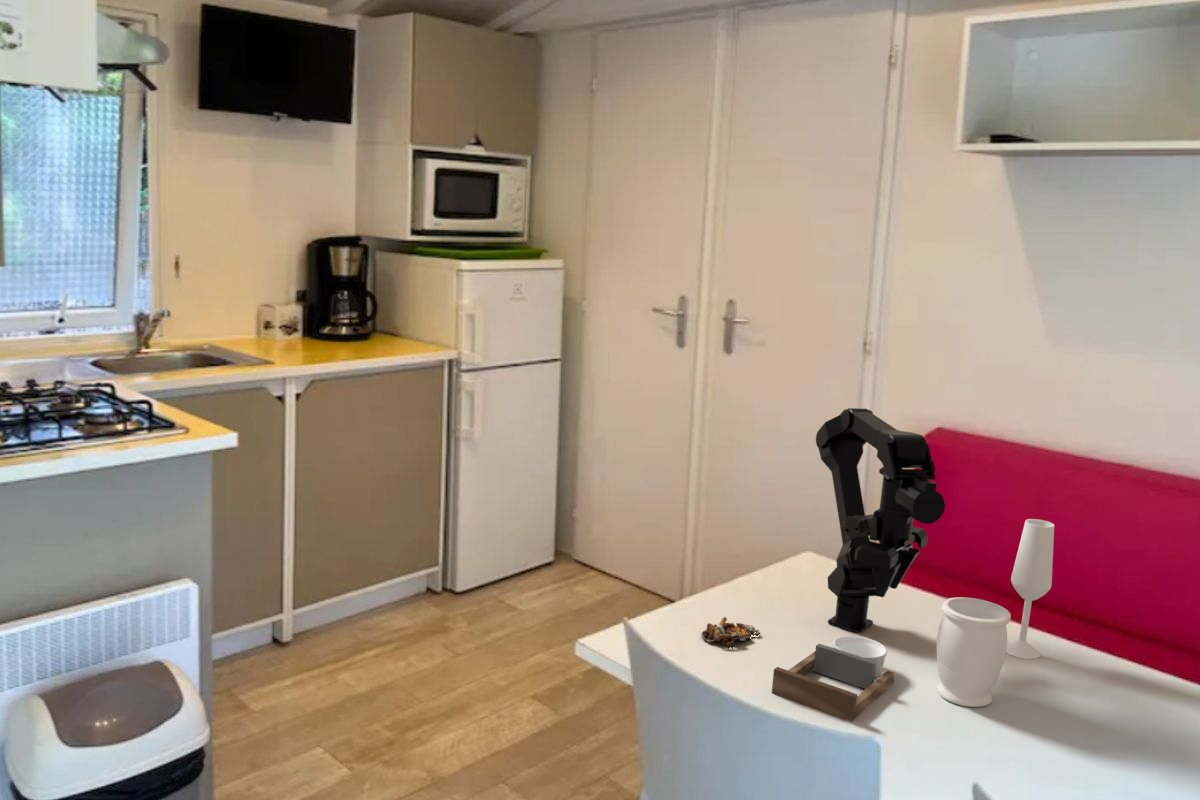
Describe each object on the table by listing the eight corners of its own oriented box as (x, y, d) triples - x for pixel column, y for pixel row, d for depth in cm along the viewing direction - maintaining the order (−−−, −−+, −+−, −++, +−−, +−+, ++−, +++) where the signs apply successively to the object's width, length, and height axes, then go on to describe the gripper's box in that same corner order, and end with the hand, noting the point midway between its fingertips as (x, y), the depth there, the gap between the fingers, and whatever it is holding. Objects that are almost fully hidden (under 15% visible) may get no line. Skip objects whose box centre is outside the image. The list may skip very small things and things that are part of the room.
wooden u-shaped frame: (818, 659, 179) (820, 637, 178) (893, 683, 171) (896, 661, 170) (771, 692, 165) (773, 669, 164) (851, 721, 157) (854, 696, 157)
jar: (964, 716, 161) (977, 625, 159) (916, 687, 170) (927, 600, 168) (1012, 705, 166) (1026, 616, 164) (963, 677, 175) (975, 593, 173)
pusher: (817, 668, 175) (819, 642, 174) (874, 687, 169) (877, 661, 168) (813, 671, 173) (816, 645, 173) (870, 690, 168) (873, 664, 167)
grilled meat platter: (766, 636, 188) (768, 618, 187) (726, 654, 180) (728, 634, 179) (735, 624, 193) (737, 606, 192) (695, 640, 184) (696, 621, 184)
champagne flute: (1021, 660, 184) (1040, 530, 179) (992, 645, 190) (1010, 518, 185) (1049, 656, 186) (1069, 527, 182) (1020, 641, 192) (1039, 516, 188)
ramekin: (826, 657, 180) (828, 633, 179) (877, 660, 180) (880, 637, 179) (835, 679, 172) (838, 655, 171) (889, 684, 171) (892, 659, 171)
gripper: (873, 486, 191) (864, 567, 194) (830, 506, 176) (821, 593, 179) (933, 499, 184) (922, 583, 187) (894, 521, 170) (883, 611, 172)
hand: (886, 592), depth 182 cm, fingers open, 5 cm apart
